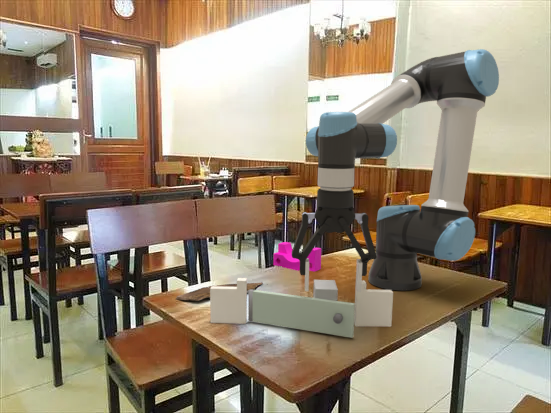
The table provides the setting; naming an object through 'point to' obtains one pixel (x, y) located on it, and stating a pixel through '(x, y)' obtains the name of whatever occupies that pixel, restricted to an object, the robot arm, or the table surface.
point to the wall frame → (233, 305)
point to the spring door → (302, 312)
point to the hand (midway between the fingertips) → (332, 289)
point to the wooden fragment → (205, 292)
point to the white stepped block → (325, 290)
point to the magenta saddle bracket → (288, 261)
